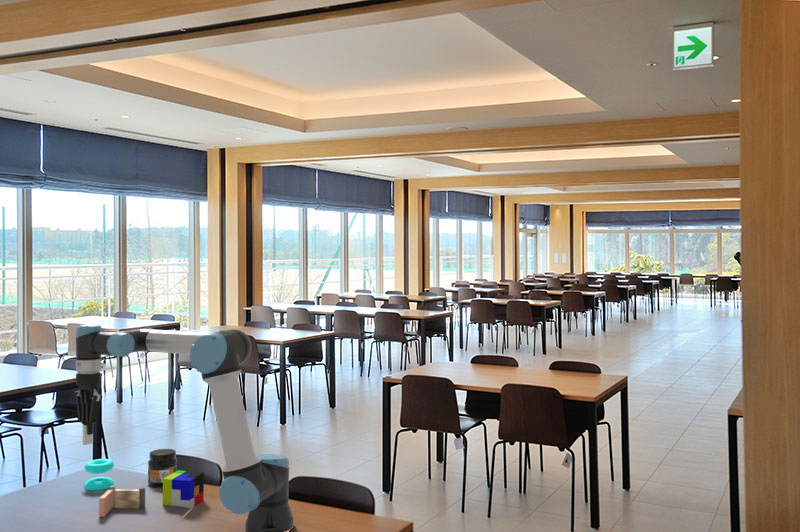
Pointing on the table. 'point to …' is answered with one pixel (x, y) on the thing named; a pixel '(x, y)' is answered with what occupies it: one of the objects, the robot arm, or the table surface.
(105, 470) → the donuts
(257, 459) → the robot arm
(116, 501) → the rail
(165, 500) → the puzzle toy
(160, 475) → the supplement container
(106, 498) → the salmon gate panel
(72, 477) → the table surface
